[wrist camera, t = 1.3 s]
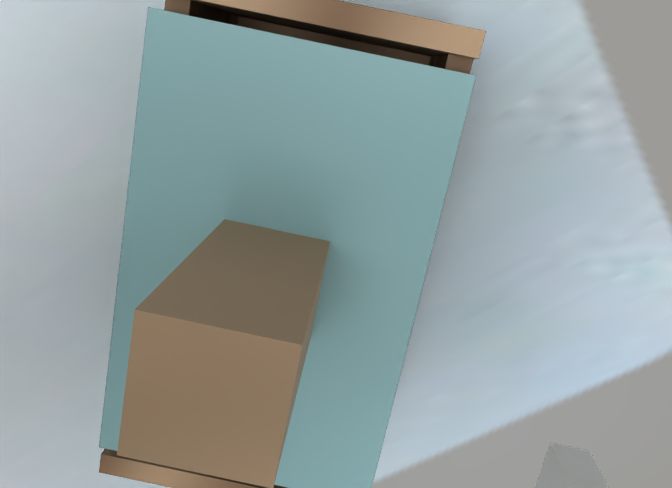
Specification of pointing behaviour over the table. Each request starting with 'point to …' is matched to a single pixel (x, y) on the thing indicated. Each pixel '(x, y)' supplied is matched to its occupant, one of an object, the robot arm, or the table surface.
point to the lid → (273, 251)
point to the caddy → (332, 29)
